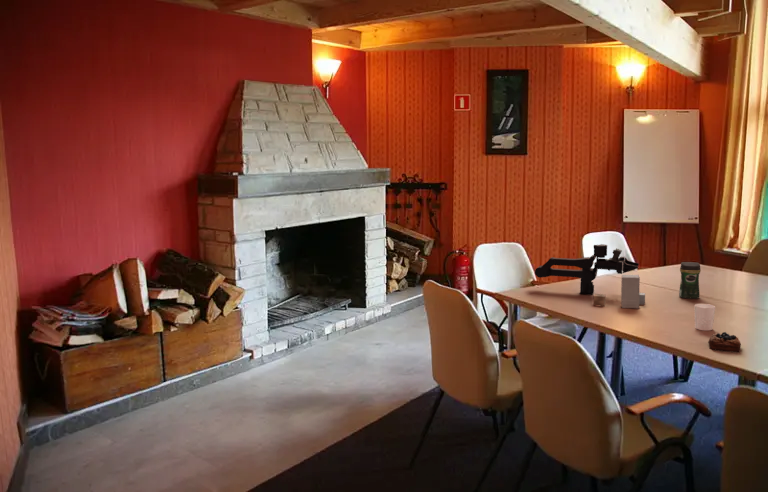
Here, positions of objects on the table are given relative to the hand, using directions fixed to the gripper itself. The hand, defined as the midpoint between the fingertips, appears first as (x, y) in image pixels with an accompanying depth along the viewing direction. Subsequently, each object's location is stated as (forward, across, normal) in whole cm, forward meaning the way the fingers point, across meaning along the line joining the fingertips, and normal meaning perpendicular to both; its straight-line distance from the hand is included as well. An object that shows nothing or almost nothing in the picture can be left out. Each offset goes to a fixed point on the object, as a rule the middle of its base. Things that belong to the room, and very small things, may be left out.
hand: (638, 265), depth 325 cm
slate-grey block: (+2, -14, +17) cm, 22 cm away
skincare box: (-2, -24, +17) cm, 29 cm away
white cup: (+29, -53, +17) cm, 63 cm away
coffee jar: (+25, +8, +17) cm, 31 cm away
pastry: (+35, -79, +17) cm, 88 cm away
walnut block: (-16, -24, +17) cm, 33 cm away
